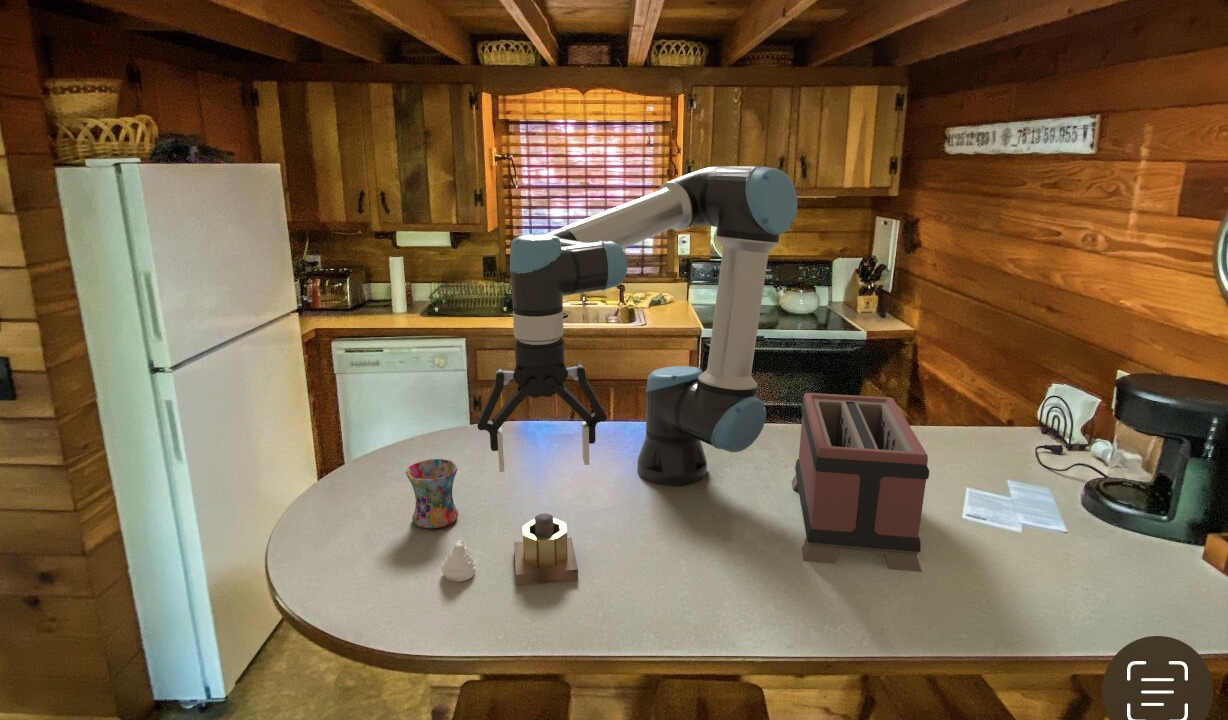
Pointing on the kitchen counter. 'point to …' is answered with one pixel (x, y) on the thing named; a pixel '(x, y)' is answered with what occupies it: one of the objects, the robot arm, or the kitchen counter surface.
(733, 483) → the kitchen counter surface
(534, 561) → the ring
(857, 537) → the toaster
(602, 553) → the kitchen counter surface
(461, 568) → the garlic bulb
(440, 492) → the mug
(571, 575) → the shaft block
